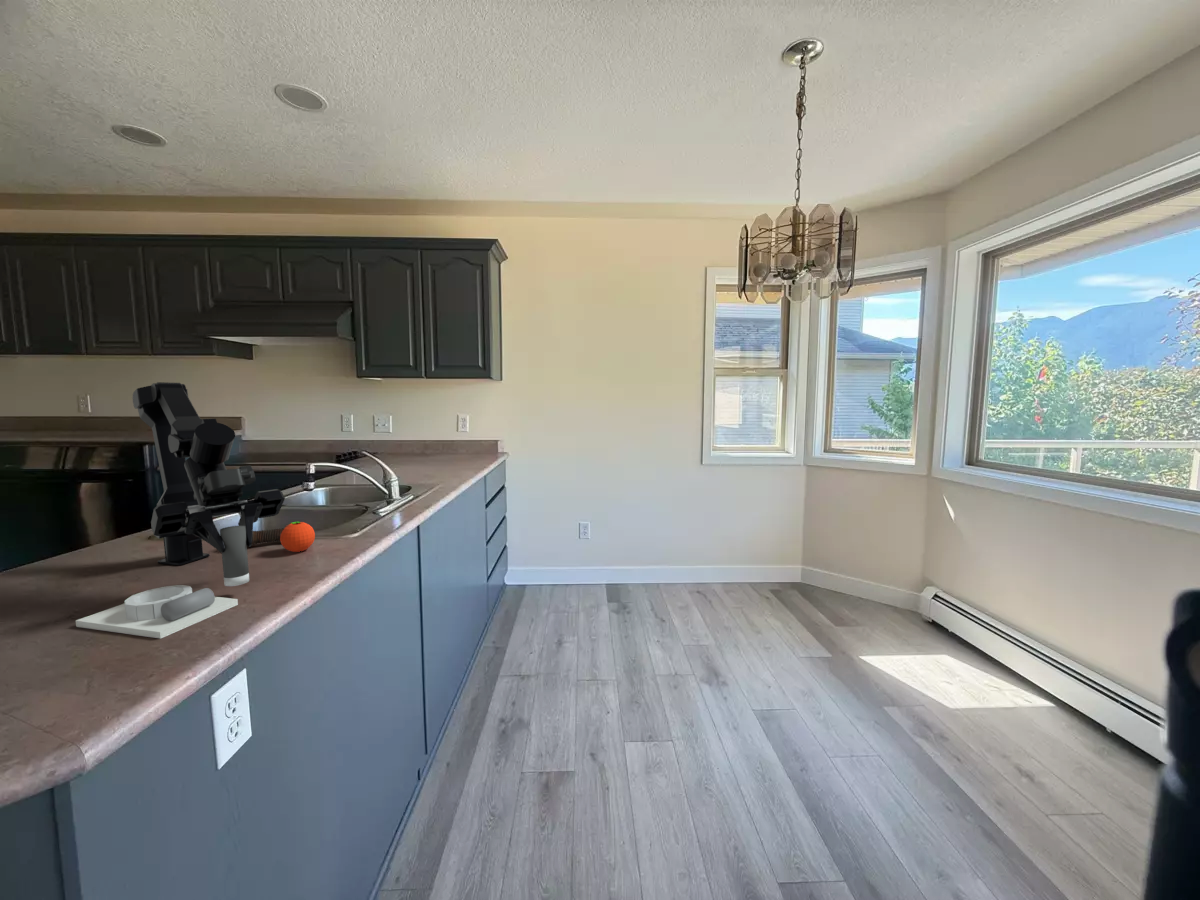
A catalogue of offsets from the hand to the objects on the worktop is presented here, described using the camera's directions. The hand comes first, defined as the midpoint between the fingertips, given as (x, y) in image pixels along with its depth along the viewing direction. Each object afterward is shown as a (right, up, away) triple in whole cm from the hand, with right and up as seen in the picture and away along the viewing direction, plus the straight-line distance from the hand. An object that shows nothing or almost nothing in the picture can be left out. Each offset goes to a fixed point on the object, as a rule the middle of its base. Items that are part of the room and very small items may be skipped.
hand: (237, 548), depth 84 cm
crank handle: (-1, -6, +1) cm, 7 cm away
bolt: (-16, -6, +33) cm, 37 cm away
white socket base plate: (-8, -10, -6) cm, 14 cm away
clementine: (-7, -6, +27) cm, 29 cm away
